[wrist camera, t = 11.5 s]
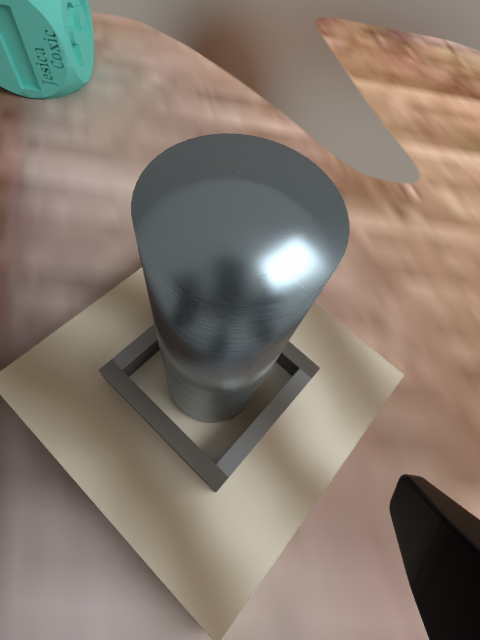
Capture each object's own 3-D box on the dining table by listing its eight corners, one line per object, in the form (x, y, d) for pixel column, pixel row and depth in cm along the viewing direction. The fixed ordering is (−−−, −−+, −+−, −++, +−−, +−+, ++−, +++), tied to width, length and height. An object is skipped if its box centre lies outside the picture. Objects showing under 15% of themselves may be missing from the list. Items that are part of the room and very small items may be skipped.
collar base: (214, 632, 16) (219, 661, 13) (2, 388, 19) (-29, 371, 17) (391, 382, 22) (418, 367, 20) (208, 231, 26) (210, 201, 23)
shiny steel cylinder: (246, 432, 18) (343, 328, 7) (155, 411, 18) (96, 270, 7) (261, 348, 21) (354, 160, 9) (180, 329, 20) (168, 114, 9)
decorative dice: (-20, 93, 29) (-88, -37, 22) (9, 39, 32) (-42, -88, 25) (82, 106, 30) (48, -16, 23) (99, 52, 33) (75, -68, 26)
